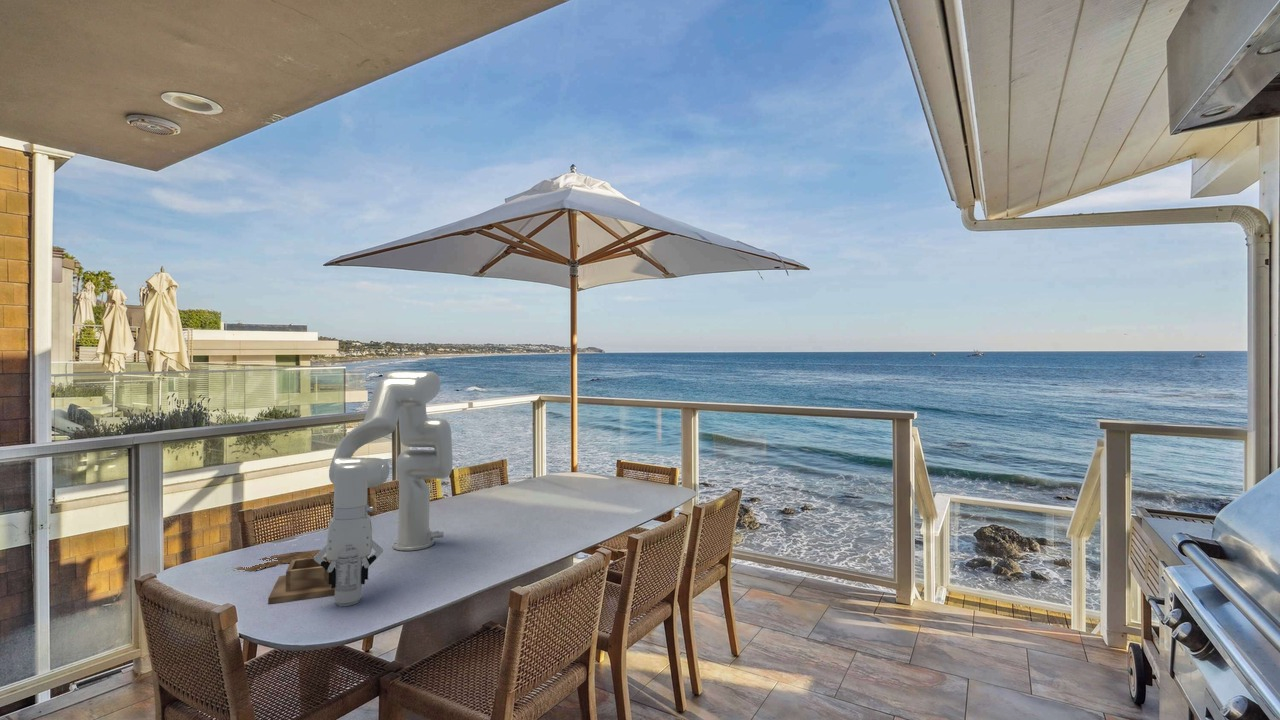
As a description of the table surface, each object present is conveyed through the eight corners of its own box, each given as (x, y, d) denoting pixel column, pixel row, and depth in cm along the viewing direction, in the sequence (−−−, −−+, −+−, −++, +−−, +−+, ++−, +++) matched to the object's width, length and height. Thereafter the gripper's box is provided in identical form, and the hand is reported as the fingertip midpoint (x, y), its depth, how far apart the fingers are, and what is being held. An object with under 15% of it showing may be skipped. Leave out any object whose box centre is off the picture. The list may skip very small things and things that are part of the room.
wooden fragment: (238, 576, 157) (238, 572, 157) (228, 567, 164) (228, 563, 164) (336, 555, 176) (336, 551, 176) (323, 547, 183) (323, 544, 183)
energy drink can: (365, 597, 143) (367, 538, 143) (354, 607, 137) (356, 545, 137) (341, 597, 143) (343, 538, 143) (329, 607, 137) (331, 545, 137)
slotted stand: (345, 573, 159) (345, 550, 159) (341, 594, 145) (341, 568, 145) (279, 581, 153) (279, 557, 153) (268, 604, 138) (268, 577, 138)
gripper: (387, 506, 148) (386, 574, 147) (312, 512, 140) (310, 584, 140) (388, 512, 141) (386, 584, 140) (308, 519, 134) (306, 595, 133)
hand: (348, 583), depth 140 cm, fingers closed on energy drink can, 6 cm apart
